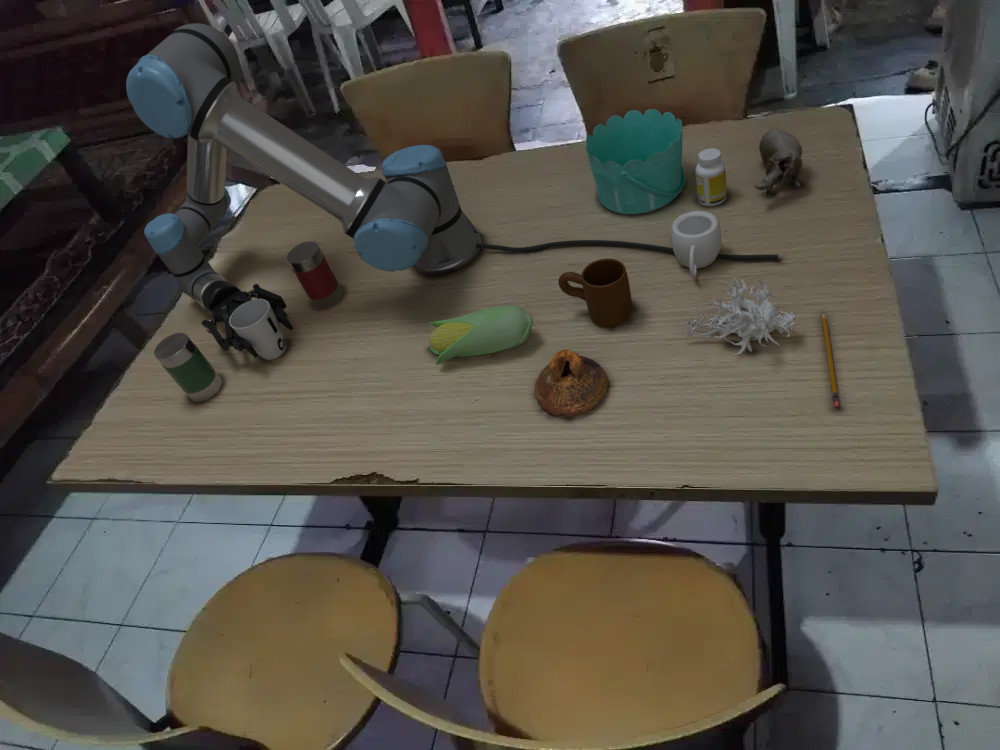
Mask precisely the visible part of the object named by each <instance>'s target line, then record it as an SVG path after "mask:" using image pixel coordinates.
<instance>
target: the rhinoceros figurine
mask: <svg viewBox="0 0 1000 750" xmlns="http://www.w3.org/2000/svg"><path fill="white" fill-rule="evenodd" d="M758 145H759V146H758V148H759V153H760V157H761V160H762V162H763V164H764V166H765V173H764V174H765V175H766V176H764V178H763V180H762V181H761V183H760V184H759V185H756V184H755V185H754V188H755V189H756V190H758V191H759V192H760V191H766V192H765V193H766V194H765V193H764V196H766V197H768V198H772V197H774V194H773V193H772V191H773V189H774V186H776V185H778V184H780V185H781V186H782V185H783V183H784V182H785V179H788V178H790V184H793V185H792V187H801V183H800V182H799V180H798V178H799V175H800V170H802V169H803V159H802V154H803V148H802V145H801V143H800V141H799V140H798V138H797V137H796V135H795V136H794V134H792V133H790V132H788V131H786V130H784V129H782V128H779V127H771V128H770V129H769V130H767V131H765V133H764V134H763V136H762V137H761V138H760V141H759V144H758Z"/></svg>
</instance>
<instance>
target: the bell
mask: <svg viewBox="0 0 1000 750" xmlns="http://www.w3.org/2000/svg"><path fill="white" fill-rule="evenodd" d="M608 380H609V379H608V375H607V372H606V371H605V369H604V368H603V367H602V366H601V365H600V364H599V363H598V362H597V361H595V360H593V359H592V358H589V357H587V356H583V355H580V354H578V353H577V352H576V351H573V350H571V349H561V350H559V351H556V352H555V353H554V355H553V356H552V358H551V360H550V361H549V363H548V364H547V365H546V366H544V368H543V369H542V370H541V371H540V373H539V375H538V376H537V379H536V381H535V383H534V393H535V397H536V398H535V399H536V401H537V404H538V405H539V406H540V407H541V408H542V409H543V410H544V411H546V412H547V413H548V414H551V415H552V416H555V417H559V416H563V417H567V418H570V417H576V416H580V415H582V414H585V413H587V412H589V411H590V410H592V409H594V408H595V407H596V406H597V405H598V404H599V403H600V402H601V401H602V399H603V398H604V397H605V395H606V391H607V390H608V383H609V382H608Z"/></svg>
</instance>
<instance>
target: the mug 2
mask: <svg viewBox="0 0 1000 750" xmlns="http://www.w3.org/2000/svg"><path fill="white" fill-rule="evenodd" d="M670 243H671V248H673V251H674V253H673V254H674V256H675V257H676V259H677V260H678V262H679V263H680V264H681V265H682V266H684V267H686V268H688V269H689V274H690V278H691V279H693V280H694V279H696V277H697V271H698V269H702V268H706V267H708V266H710V265H711V264H712V263H714V261H716V260H717V259H716V257H717V255H718V254H720V253H719V252H720V250H721V245H722V229H721V224H720V221H719V219H718V218H717V216H715V214H714V213H711V212H709V211H705V210H692V211H689V212H685V213H683V214H680V215H679V216H678V217H676V219H675V220H674V221H673V223H672V225H671V227H670Z"/></svg>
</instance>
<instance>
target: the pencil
mask: <svg viewBox="0 0 1000 750" xmlns="http://www.w3.org/2000/svg"><path fill="white" fill-rule="evenodd" d="M821 323H822V330H823V336H824V337H823V338H824V343H825V350H826V358H827V365H828V372H829V377H830V378H829V380H830V386H831V392H832V393H831V396H832V403H833V406H834V407H835V408H839V407H840V398H839V393H838V388H837V381H836V375H835V368H834V361H833V355H832V348H831V347H832V346H831V341H830V334H829V328H828V321H827V317H826V315H825V313H824V312H822V317H821Z"/></svg>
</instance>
